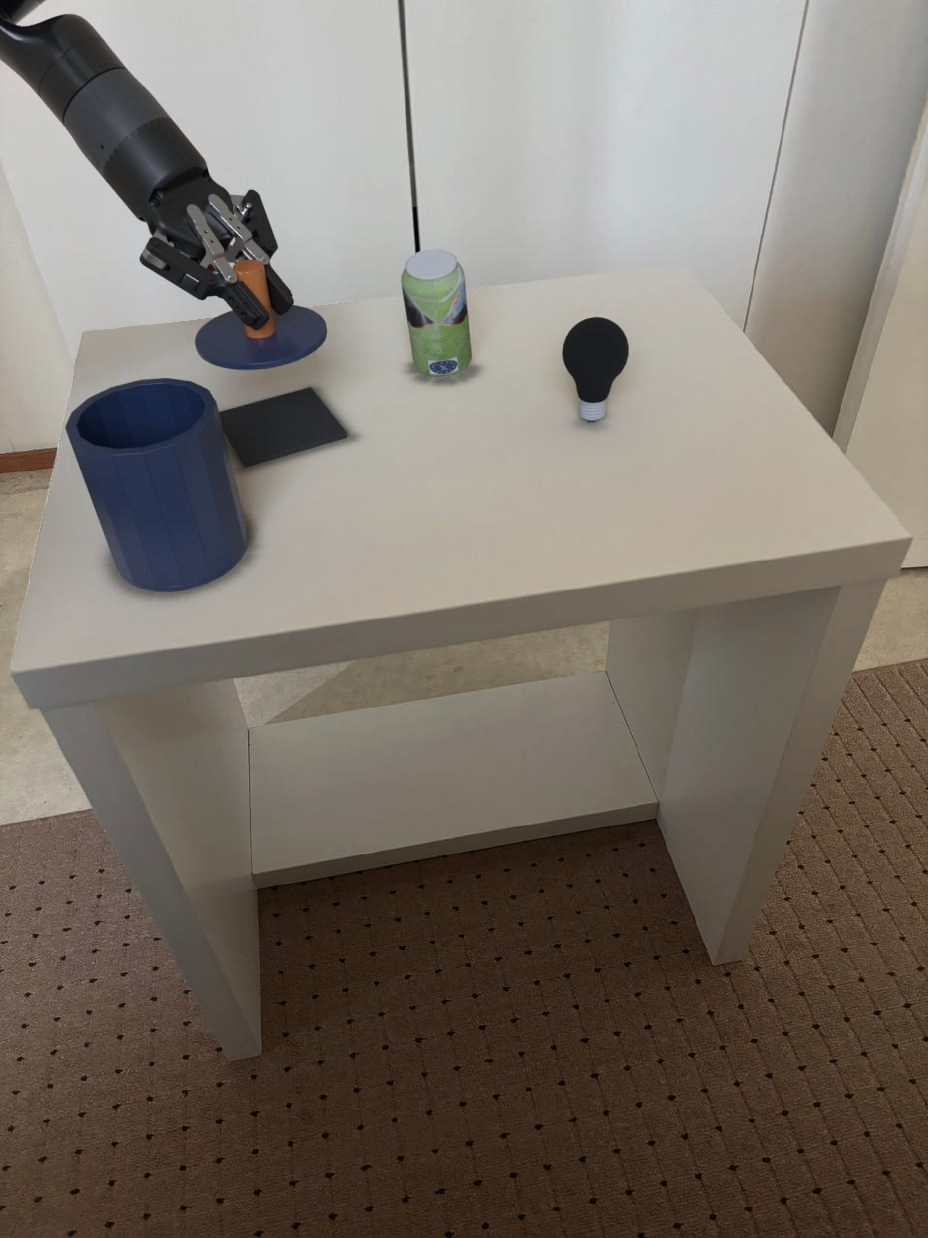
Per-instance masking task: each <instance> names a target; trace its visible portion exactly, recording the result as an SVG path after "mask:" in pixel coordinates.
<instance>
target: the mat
mask: <svg viewBox="0 0 928 1238" xmlns="http://www.w3.org/2000/svg"><path fill="white" fill-rule="evenodd" d="M219 415H220V419H221V423H222V427H223V431H224V436H225V438H226V440H227V441H228V442H229V444H230V445H231V448H232V449H233V450H234V453H235V454H236V455H237V457H238V459H239V460H240V462H241V464H242V465H243V467H244V468H248V467H251V466H255V465H257V464H261V463H262V464H263V463H265V462H268V461H272V460H275V459H278V458H282V457H285V456H289V455H292V454H296V453H299V452H303V451H306V450H309V449H313V448H316V447H319V446H324V445H327V444H330V443H333V442H337V441H340V440H344V439H347V438H348V432H347V431H346V430H345V429H344V427H343V426H342V425H341V423H340V422H339V421H338V420H337V418H336V417H335V416H334V414H333V413H332V411H330V409H329V408H328V407H327V406H326V405H325V403H324V402H323V400H322V399H321V398H320V397H319V395H318V394H317V393H316V392H315V391H314V390H313V388H312V387H311V386H309V387H306V388H302V389H298V390H295V391H294V390H293V391H291V392H287V393H284V394H280V395H276V396H272V397H269V398H265V399H261V400H258V401H254V402H250V403H247V404H243V405H240V406H235V407H232V408H228V409H225V410H220V411H219Z"/></svg>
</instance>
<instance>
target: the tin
mask: <svg viewBox="0 0 928 1238" xmlns="http://www.w3.org/2000/svg"><path fill="white" fill-rule="evenodd" d="M219 412H220V411H219V407H218V403H217V401H216V399H215V397H214V396H213V394H212V393H211V391H210V389H209V388H206V387H205V386H203V385H200V384H198V383H196V382H194V381H192V380H185V379H179V378H178V379H177V378H173V377H172V378H171V377H161V378H146V379H138V380H134V381H131V382H126V383H122V384H118V385H114V386H111V387H109V388H107V389H104V390H102V391H100V392H98V393H96V394H93V395H92V396H90V397H87V398H86V400H84V401H83V402H82V403H81V404H79V405H78V406H77V407H76V408H75V409H73V410H72V411H71V412H70V415H69V418H68V419H67V422H66V423H65V426H64V429H65V431H66V432H65V433H66V435H67V437H68V440H69V443H70V446H71V449H72V451H73V454H74V457H75V458H76V463H77V464H78V467H79V471H80V473H81V475H82V478H83V480H84V483H85V486H86V489H87V492H88V495H89V497H90V499H91V503H92V505H93V508H94V510H95V514H96V516H97V519H98V522H99V524H100V527H101V530H102V532H103V535H104V538H105V540H106V544H107V546H108V548H109V551H110V554H111V557H112V559H113V562H114V565H115V567H116V569H117V570H116V571H117V572H118V574H119V575H120V576H121V578H122V579H123V580H125V581H126V582H127V583H129V584H130V585H132V586H135V587H136V588H139V589H141V590H146V591H152V592H162V593H163V592H166V593H167V592H178V591H185V590H190V589H193V588H197V587H201V586H204V585H206V584H208V583H211V582H213V581H216V580H217V579H219V578H221V577H223V576H224V575H225V574H227V573H228V572H230V571H231V570H232V569H233V568H234V567H236V565H238V563H239V562H240V561H241V560H242V558H243V557H244V555H245V553H246V551H247V549H248V544H249V536H248V527H247V523H246V519H245V514H244V510H243V506H242V502H241V499H240V494H239V489H238V486H237V485H238V484H237V481H236V477H235V473H234V470H233V465H232V461H231V458H230V453H229V449H228V444H227V439H226V435H225V434H224V431H223V427H222V423H221V419H220V415H219Z"/></svg>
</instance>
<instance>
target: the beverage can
mask: <svg viewBox="0 0 928 1238" xmlns="http://www.w3.org/2000/svg"><path fill="white" fill-rule="evenodd" d="M400 283H401V284H400V285H401V290H402V291H401V292H402V296H403V303H404V310H405V316H406V317H405V318H406V322H407V331H408V337H409V343H410V348H411V350H410V351H411V357H412V364H413V366H414V367H415V369H416V370H418V372H419V373H421V374H423V375H426V376H429V377H431V378H437V379H444V378H451V377H453V376H456V375H457V374H459V373H460V372H462V371H464V370H465V369H466V368H467V367H468V366H469V365H470V364H471V361H472V358H473V351H472V343H471V331H470V320H469V319H470V318H469V310H468V299H467V288H466V287H467V286H466V275H465V271H464V267H463V266H462V265H461V264H460V262H458V258H457V257H456V255H455V254H454V253H452V252H451V251H449V250H446V249H441V248H428V249H424V250H420V251H417V252H416V253H414V254H412V255H410V256H409V257H408V258H407V260H406V261H405V265H404V269H403V270H402V273H401V276H400Z"/></svg>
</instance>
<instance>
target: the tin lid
mask: <svg viewBox="0 0 928 1238" xmlns="http://www.w3.org/2000/svg"><path fill="white" fill-rule="evenodd" d="M232 269H233V270H234V272H235V273H236V275H237V278H238V279H237V282H240V281H243V282H244V283H245V284H246V285H247V287H248V288H249V289H250V290H251V292H252V293H253V294H254V295H255V296H256V298H257V299H258V300H259V301H260V302H261V304H262V305H263V306H264V307H265V309H266V310H267V311H268V312H269V314H270V319H269V320H268V321H267V323H266V324H265V325H264V326H263V327H262V328H260V329H259V330H257V331H256V330H253V329H252V328H251V326H250V327H248V326H247V325H245V324H244V323H243V322H242V321H241V319H240V318H239V317H238V316H237V315H236V313H235V312H234V311H233V310H232V309H231V310H229V311H226V312H224V313H221V314H219V315H217V316H215V317H213V318H212V319H211V320H209V321H207V322H205V324H203V325H202V326H201V327H200V328H199V329H198V331H197V333H196V335H195V337H194V345H195V349H196V352H197V355H199V356H200V358H202V359H203V360H204V361H205V362H207V363H209V364H210V365H213V366H215V367H220V368H223V369H228V370H234V371H235V370H237V371H258V370H259V371H260V370H267V369H272V368H279V367H283V366H286V365H289V364H293V363H295V362H298V361H300V360H302V359H305V358H307V357H308V356H310V355H311V354H313V353H315V352H316V351H317V350H319V348H320V347H322V346H323V344H324V343H325V341H326V339H327V336H328V327H327V325H328V324H327V322H326V320H325V319H324V317H323V316H322V315H321V314H320V313H319V312H316V311H315V310H313V309H311V308H308V307H305V306H301V305H296V304H293V305H292V306H291V308H290V309H289V310H288V311H287V312H286V313H284V314H283V315H281V316H280V315H278V314H276V312H275V311H274V310H273V309H272V307H271V302H270V297H269V291H268V286H267V280H266V275H265V269H264V264H263V262H261V261H259V260H252V259H250V260H244V261H240V262H238V263H236V264H234V263H233V266H232Z"/></svg>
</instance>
